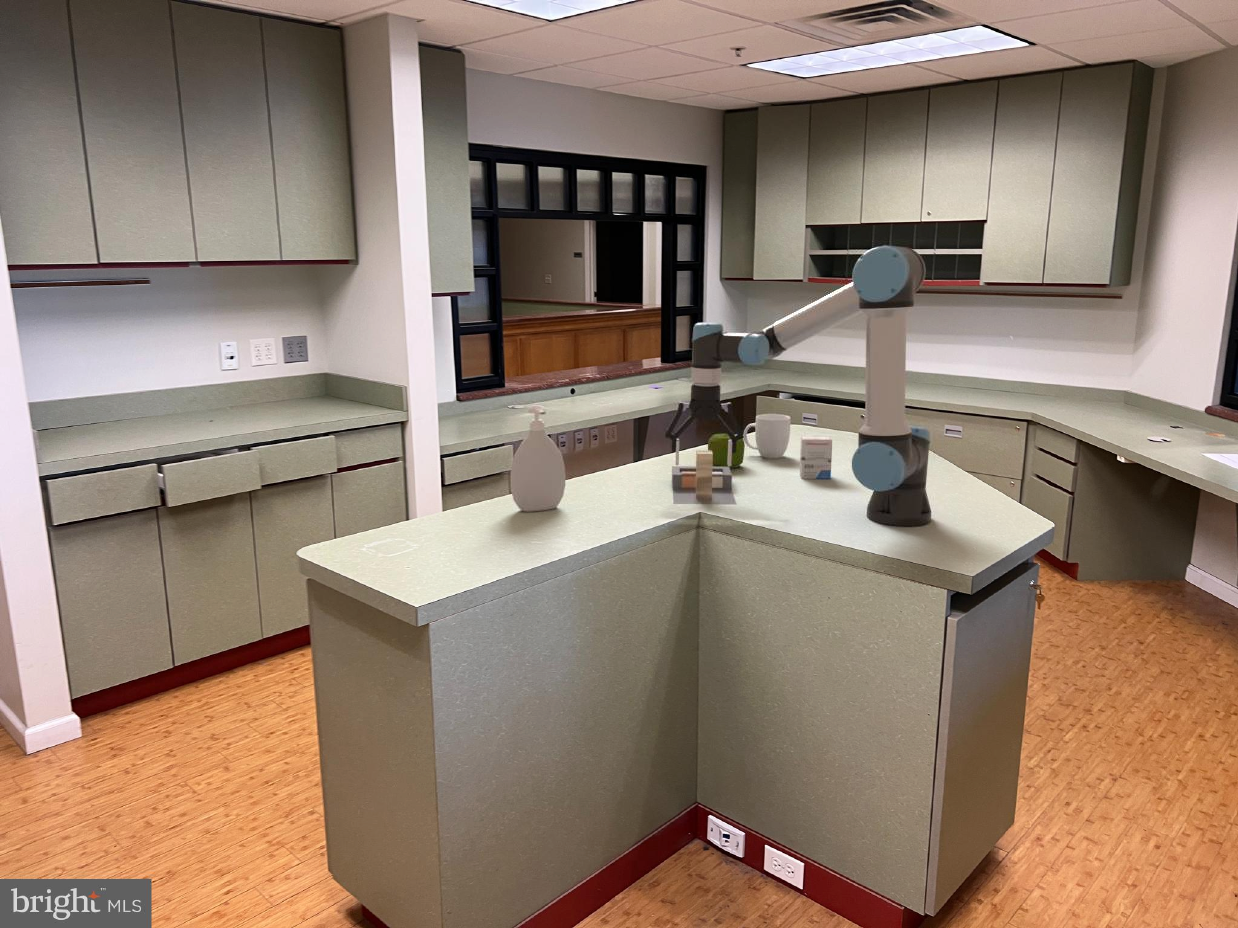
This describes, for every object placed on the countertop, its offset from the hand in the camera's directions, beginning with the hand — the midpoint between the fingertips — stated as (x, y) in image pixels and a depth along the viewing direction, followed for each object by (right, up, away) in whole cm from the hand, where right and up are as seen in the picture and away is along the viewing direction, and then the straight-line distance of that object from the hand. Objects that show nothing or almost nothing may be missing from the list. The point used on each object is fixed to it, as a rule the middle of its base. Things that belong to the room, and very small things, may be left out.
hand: (703, 464), depth 229 cm
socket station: (+1, -8, +8) cm, 11 cm away
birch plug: (0, -8, +2) cm, 9 cm away
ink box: (+35, -4, +28) cm, 45 cm away
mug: (+26, +3, +56) cm, 62 cm away
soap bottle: (-42, -12, -6) cm, 44 cm away
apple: (+11, -1, +42) cm, 43 cm away
